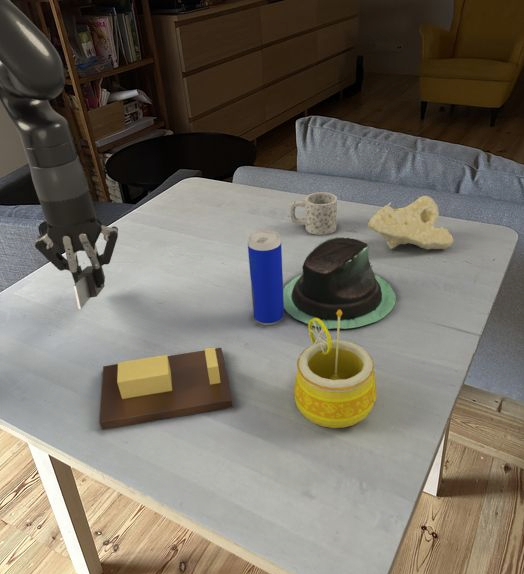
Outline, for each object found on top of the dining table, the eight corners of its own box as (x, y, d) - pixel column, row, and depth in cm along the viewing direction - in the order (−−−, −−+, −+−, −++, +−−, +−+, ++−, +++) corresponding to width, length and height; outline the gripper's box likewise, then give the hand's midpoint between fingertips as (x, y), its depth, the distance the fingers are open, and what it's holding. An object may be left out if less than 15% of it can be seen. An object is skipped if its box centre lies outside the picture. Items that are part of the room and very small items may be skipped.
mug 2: (374, 438, 68) (382, 366, 61) (289, 430, 70) (287, 359, 63) (375, 373, 78) (382, 304, 71) (301, 367, 80) (300, 300, 73)
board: (101, 430, 72) (98, 422, 71) (105, 373, 81) (103, 366, 81) (233, 407, 74) (232, 399, 73) (222, 354, 83) (221, 347, 83)
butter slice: (210, 384, 76) (207, 367, 74) (207, 365, 79) (204, 348, 77) (220, 383, 76) (218, 365, 74) (217, 363, 79) (214, 346, 77)
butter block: (122, 399, 75) (117, 382, 73) (122, 379, 78) (117, 362, 76) (172, 390, 75) (168, 373, 73) (170, 371, 79) (167, 354, 77)
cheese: (445, 241, 112) (395, 190, 111) (467, 227, 105) (414, 172, 104) (403, 289, 108) (351, 235, 107) (424, 277, 101) (368, 220, 100)
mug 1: (338, 221, 118) (339, 192, 114) (334, 235, 113) (335, 205, 109) (293, 219, 120) (292, 191, 116) (287, 233, 115) (286, 203, 111)
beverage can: (261, 306, 93) (256, 227, 84) (288, 312, 92) (286, 232, 82) (248, 322, 90) (241, 241, 81) (276, 329, 88) (272, 247, 79)
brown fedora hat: (307, 254, 105) (408, 274, 98) (274, 337, 100) (380, 364, 93) (293, 206, 92) (410, 224, 85) (255, 299, 86) (377, 327, 79)
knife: (91, 288, 98) (86, 266, 97) (104, 286, 98) (100, 264, 97) (71, 310, 80) (65, 284, 79) (87, 308, 80) (82, 281, 79)
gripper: (11, 205, 78) (48, 304, 88) (107, 192, 79) (132, 292, 90) (20, 186, 83) (53, 281, 94) (109, 175, 85) (132, 270, 96)
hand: (92, 286), depth 92 cm, fingers closed on knife, 2 cm apart
